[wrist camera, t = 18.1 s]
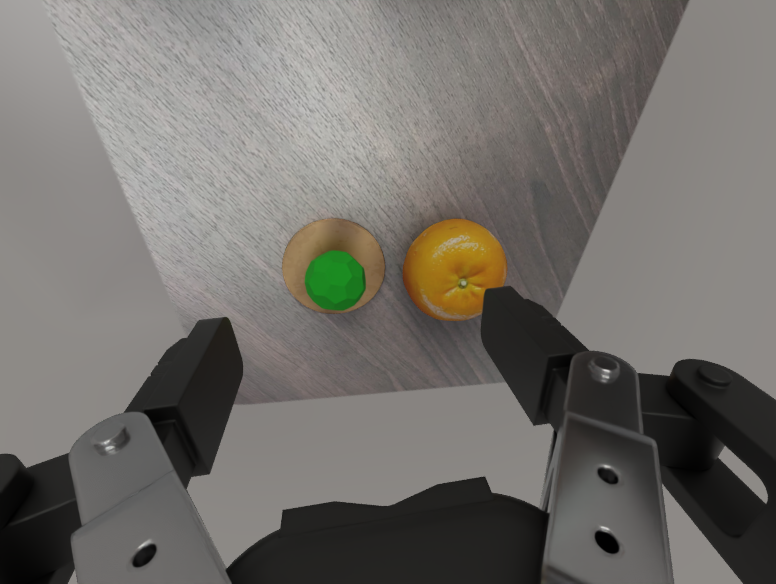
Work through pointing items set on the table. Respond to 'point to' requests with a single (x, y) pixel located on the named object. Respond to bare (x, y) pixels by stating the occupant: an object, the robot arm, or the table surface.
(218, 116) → the table surface
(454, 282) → the fruit
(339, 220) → the coaster
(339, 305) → the polyhedron
